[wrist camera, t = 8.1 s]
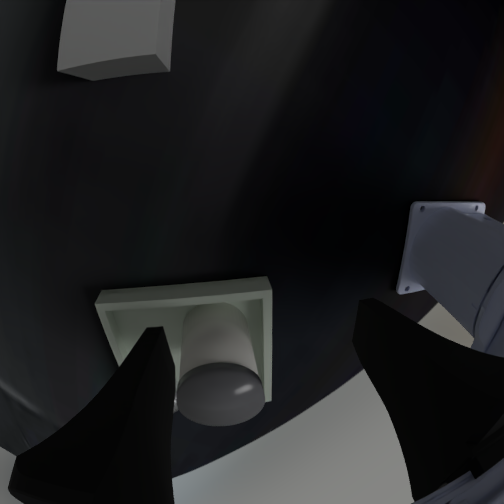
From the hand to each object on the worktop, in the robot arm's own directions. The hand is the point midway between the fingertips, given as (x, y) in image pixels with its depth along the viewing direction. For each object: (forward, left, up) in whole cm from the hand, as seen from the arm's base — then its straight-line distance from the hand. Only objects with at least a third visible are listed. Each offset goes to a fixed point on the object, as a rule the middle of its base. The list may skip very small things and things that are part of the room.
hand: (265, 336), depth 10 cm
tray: (+4, +9, -10) cm, 14 cm away
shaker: (+2, +7, -9) cm, 12 cm away
